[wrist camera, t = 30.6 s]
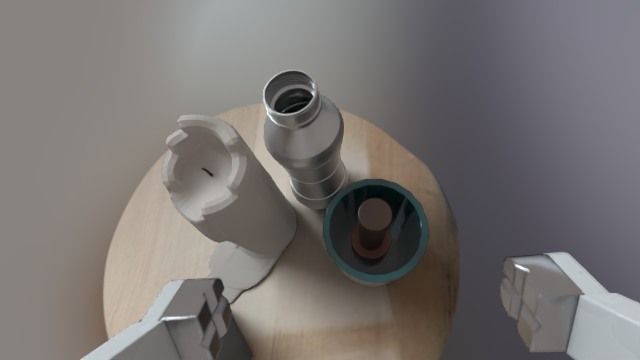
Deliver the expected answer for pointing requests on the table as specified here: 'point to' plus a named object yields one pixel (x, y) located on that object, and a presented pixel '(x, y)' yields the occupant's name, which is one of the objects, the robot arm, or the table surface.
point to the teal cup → (404, 228)
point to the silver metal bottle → (305, 137)
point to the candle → (228, 200)
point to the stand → (233, 345)
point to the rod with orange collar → (372, 231)
